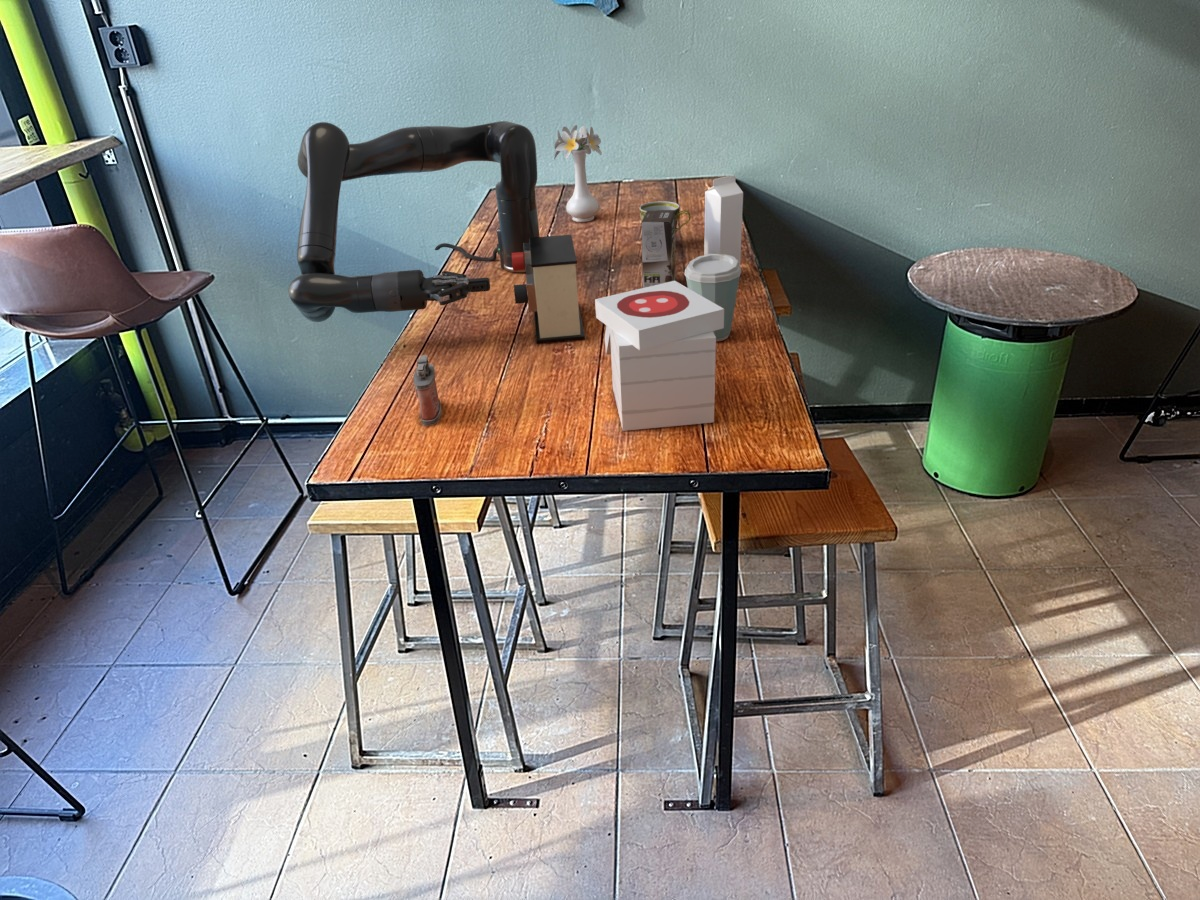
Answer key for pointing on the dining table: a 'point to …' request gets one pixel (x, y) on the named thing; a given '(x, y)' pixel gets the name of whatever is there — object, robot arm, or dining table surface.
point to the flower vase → (579, 170)
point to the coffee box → (658, 247)
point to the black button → (520, 293)
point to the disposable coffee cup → (716, 284)
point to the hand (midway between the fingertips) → (489, 284)
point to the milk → (723, 218)
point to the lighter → (427, 391)
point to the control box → (553, 288)
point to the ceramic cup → (663, 206)
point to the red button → (518, 261)
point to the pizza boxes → (661, 354)
